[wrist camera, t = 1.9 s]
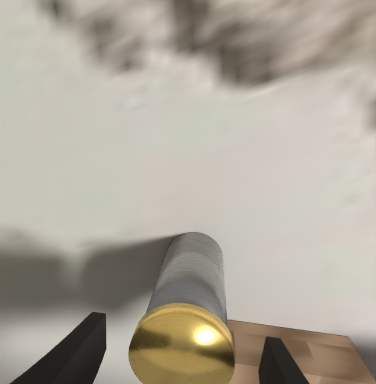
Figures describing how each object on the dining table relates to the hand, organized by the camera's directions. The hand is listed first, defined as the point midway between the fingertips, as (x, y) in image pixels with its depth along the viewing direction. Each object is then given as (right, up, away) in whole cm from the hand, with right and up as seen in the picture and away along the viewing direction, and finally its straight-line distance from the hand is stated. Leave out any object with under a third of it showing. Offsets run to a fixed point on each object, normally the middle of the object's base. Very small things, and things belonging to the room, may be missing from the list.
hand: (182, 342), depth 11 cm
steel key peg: (+1, +2, +7) cm, 7 cm away
